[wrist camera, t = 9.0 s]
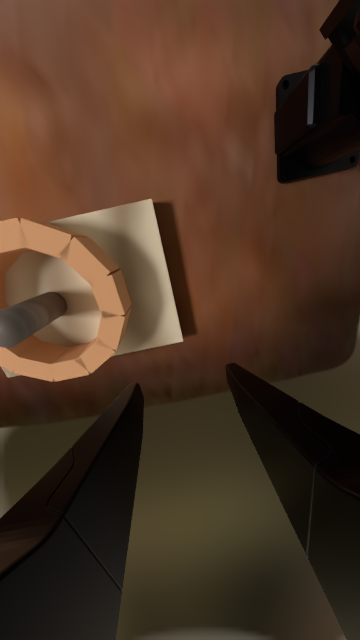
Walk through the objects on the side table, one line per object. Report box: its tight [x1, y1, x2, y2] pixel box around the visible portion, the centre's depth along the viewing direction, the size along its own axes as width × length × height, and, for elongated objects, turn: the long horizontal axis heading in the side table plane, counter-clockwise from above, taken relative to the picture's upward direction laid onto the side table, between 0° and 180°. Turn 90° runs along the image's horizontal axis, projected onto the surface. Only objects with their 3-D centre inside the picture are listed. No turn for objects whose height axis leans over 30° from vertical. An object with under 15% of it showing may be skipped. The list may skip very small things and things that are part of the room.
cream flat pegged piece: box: [0, 199, 183, 377], centre depth 16 cm, size 19×13×8 cm
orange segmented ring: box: [0, 218, 132, 381], centre depth 16 cm, size 13×13×3 cm
